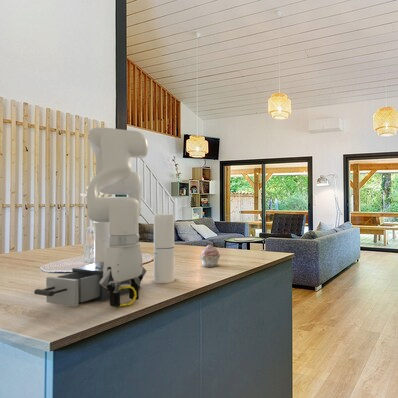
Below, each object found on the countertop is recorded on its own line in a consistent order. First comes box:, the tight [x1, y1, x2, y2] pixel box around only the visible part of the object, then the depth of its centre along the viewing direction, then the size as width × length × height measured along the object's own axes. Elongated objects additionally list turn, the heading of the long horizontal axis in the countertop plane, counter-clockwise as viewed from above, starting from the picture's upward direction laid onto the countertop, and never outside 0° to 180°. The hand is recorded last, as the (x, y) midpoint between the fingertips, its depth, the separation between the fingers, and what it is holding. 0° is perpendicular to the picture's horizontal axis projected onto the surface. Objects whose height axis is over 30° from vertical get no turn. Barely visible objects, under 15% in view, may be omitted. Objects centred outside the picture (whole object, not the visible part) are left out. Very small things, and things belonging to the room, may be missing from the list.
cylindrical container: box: [153, 213, 175, 284], centre depth 121 cm, size 7×7×25 cm
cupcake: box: [199, 243, 221, 268], centre depth 147 cm, size 9×9×10 cm
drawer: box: [33, 272, 100, 307], centre depth 96 cm, size 18×11×7 cm, turn 161°
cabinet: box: [71, 262, 141, 302], centre depth 107 cm, size 15×13×9 cm
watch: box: [118, 284, 136, 308], centre depth 94 cm, size 6×3×6 cm, turn 130°
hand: (124, 301), depth 94 cm, fingers closed on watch, 5 cm apart
